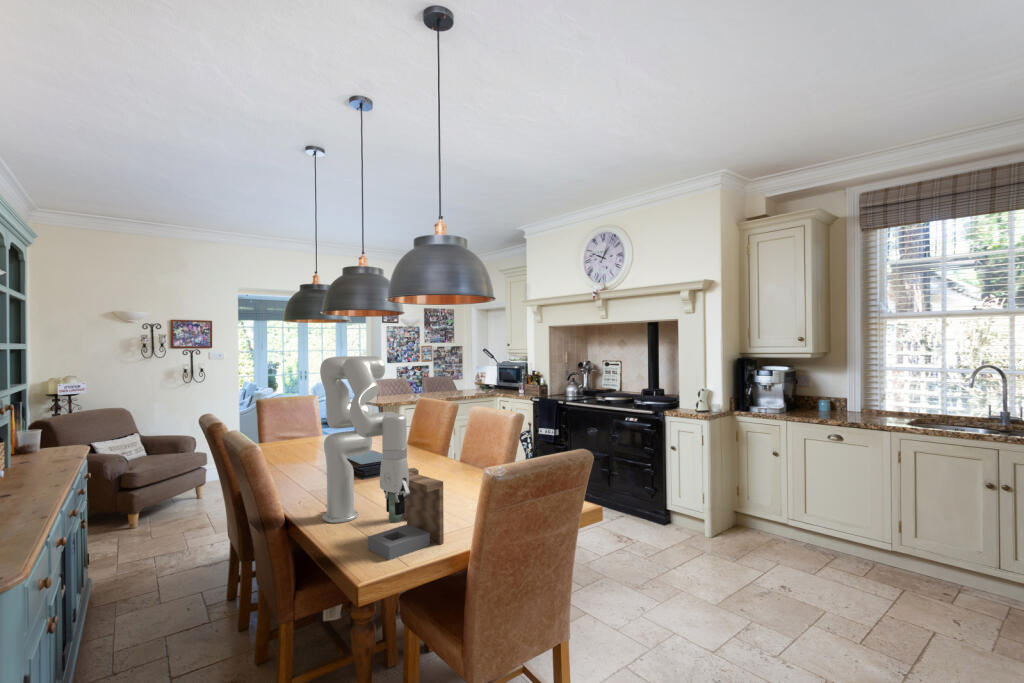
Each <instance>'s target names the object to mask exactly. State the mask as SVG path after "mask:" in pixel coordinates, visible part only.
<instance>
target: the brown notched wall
mask: <svg viewBox="0 0 1024 683" xmlns="http://www.w3.org/2000/svg"><path fill="white" fill-rule="evenodd" d="M409 492H410V494H409V495H408V496H407V519H406V524H409V525H411V526H414V527H416V528H419V529H421V530H424V531H426V532H429V533H430V540H431V541H430V542H432V541H433V542H432V543H434V542H436V543H435V544H437V543H438V544H437V545H439V544H441V545H443V544H442V543H444V542H445V541H444V540H445V539H444V538H445V535H444V531H445V530H444V525H445V524H444V481H443V480H439V479H437V478H436V479H435V478H432V477H429V476H425V475H421V474H420V473H419V474H415V473H412V472H409Z"/></svg>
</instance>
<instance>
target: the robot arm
mask: <svg viewBox="0 0 1024 683" xmlns="http://www.w3.org/2000/svg"><path fill="white" fill-rule="evenodd" d="M320 364H321V365H320V368H319V374H320V380H321V383H322V386H323V389H324V392H325V393H324V394H325V407H326V408H325V410H326V412H325V414H326V421H327V422H326V423H327V425H328V427H329V428H330V429H334V430H335V429H336V430H338V429H347V428H354V429H355V430H349V431H348V430H346V431H340V432H335V433H331V434H329V435H328V436H326V437H325V438H324V440H323V441H324V442H323V450H324V455H325V461H326V462H325V464H326V504H325V508H326V513H324V514H323V515H322V520H323V521H324V522H326V523H329V524H330V523H332V524H335V523H336V524H338V523H345V522H350V521H353V520H354V519H356V518H358V516H359V511H357V510H356V509H355V489H354V487H355V483H354V482H355V478H354V477H355V473H354V466H353V465H352V463H351V462H350V461H349V460H348V459H349V458H351V457H355V456H364V455H367V454H369V453H370V451H371V450H372V447H373V438H375V437H382V440H381V441H382V442H381V444H382V445H381V446H382V448H381V449H382V456H381V457H382V458H381V462H380V468H379V469H380V470H379V488H380V489H381V490H383V493H384V498H385V501H386V503H385V505H386V507H385V508H386V513H389V492H391V493H395V495H396V502H395V515H400V514H404V513H405V500H406V497H407V496H408V495H409V494H410V492H409V471H408V469H409V464H408V440H407V438H408V437H407V435H408V434H407V417H406V416H405V415H404V414H401V413H400V414H398V413H396V412H394V411H383V412H373V413H372V412H371V411H370V407H369V406H368V404H367V403H368V402H370V401H372V400H373V399H375V398H376V397H377V396H378V394H379V392H380V386H379V384H378V382H377V380H380V379H382V378H383V377H384V376H385V373H386V366H385V362H384V360H382V358H381V357H379V356H376V355H374V356H372V355H369V356H368V355H367V356H366V355H365V356H364V355H353V356H347V355H346V356H344V355H343V356H332V357H328V358H325V359H324V360H323V361H322V362H321V363H320ZM343 380H346V381H347V382H348V384H349V386H350V389H351V391H352V393H353V394H354V396H353V398H352V400H350V399H351V398H350V390H349V388H348V387H349V386H347V384H346V383H345V382H344V381H343ZM400 490H402V491H400ZM400 493H401V495H400V496H399V494H400Z"/></svg>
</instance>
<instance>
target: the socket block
mask: <svg viewBox="0 0 1024 683" xmlns="http://www.w3.org/2000/svg"><path fill="white" fill-rule="evenodd" d="M429 545H431V541H430V533H429V532H426V531H424V530H421V529H419V528H416V527H414V526H411V525H409V524H407V523H406V524H404V525H401V526H397V527H393V528H391V529H387V530H384V531H382V532H378V533H376V534H372V535H368V536H367V550H368V549H369V550H368V551H370V550H371V551H370V552H372V551H373V552H372V553H375V554H376V555H378V556H380V557H382V558H385V559H386V560H389V561H391V559H392V560H393V559H397V558H400V557H402V556H404V554H405V555H408V554H410V552H411V553H413V552H416V551H420V550H421V548H422V549H424V548H427V547H429ZM426 546H427V547H426ZM399 556H400V557H399ZM396 557H397V558H396Z"/></svg>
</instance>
